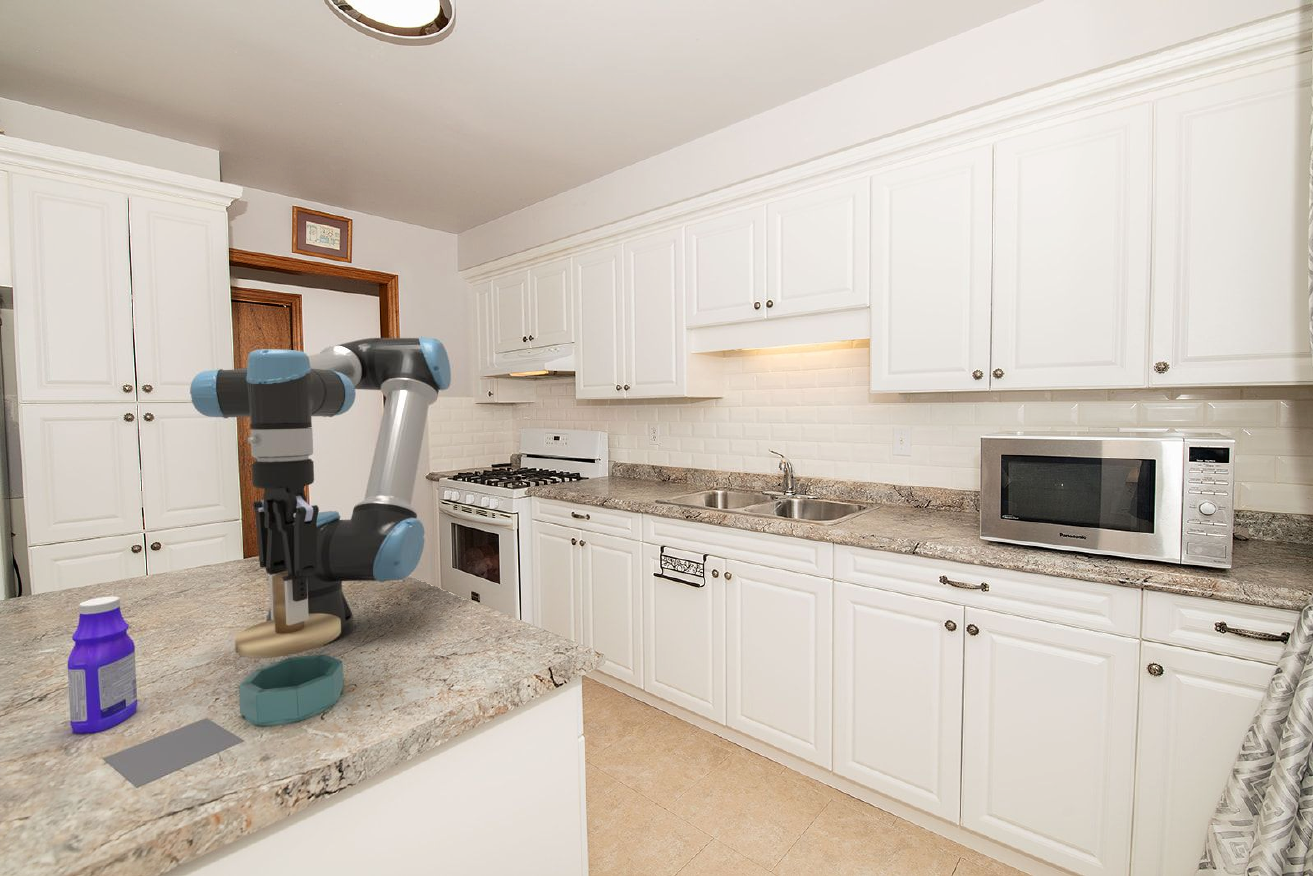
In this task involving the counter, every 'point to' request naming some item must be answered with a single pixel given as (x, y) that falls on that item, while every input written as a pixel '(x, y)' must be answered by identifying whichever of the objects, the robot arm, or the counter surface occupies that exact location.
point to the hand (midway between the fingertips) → (289, 619)
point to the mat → (171, 751)
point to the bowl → (291, 690)
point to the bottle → (101, 668)
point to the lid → (286, 631)
